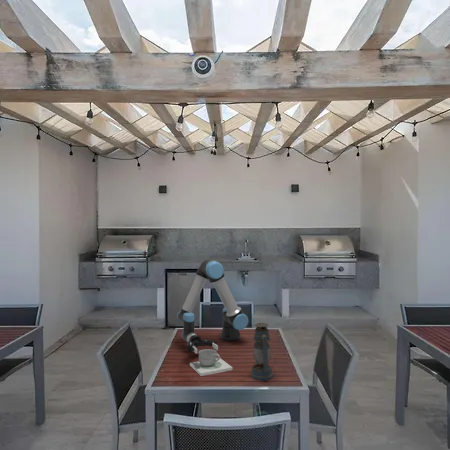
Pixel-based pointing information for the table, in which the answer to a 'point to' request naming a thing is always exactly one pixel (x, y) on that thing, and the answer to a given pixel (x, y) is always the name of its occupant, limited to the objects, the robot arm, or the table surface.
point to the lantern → (262, 353)
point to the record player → (211, 367)
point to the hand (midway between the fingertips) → (207, 349)
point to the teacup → (208, 357)
